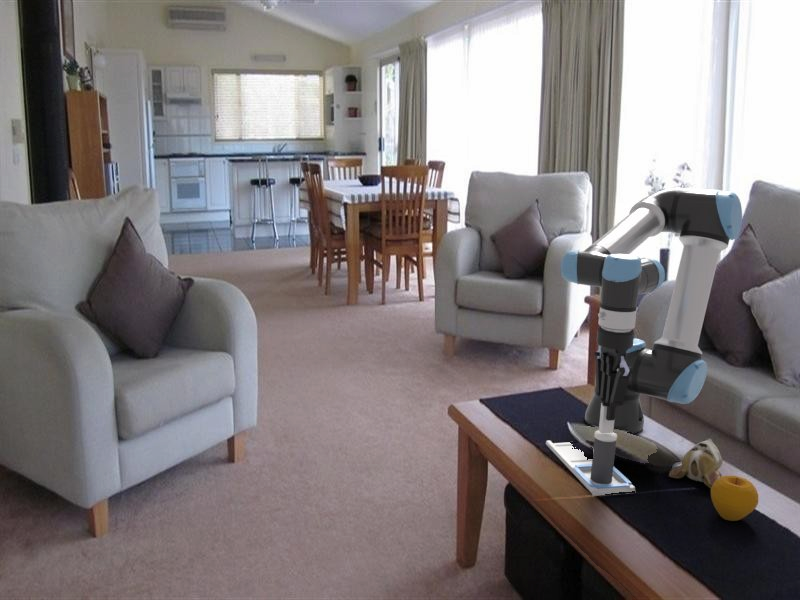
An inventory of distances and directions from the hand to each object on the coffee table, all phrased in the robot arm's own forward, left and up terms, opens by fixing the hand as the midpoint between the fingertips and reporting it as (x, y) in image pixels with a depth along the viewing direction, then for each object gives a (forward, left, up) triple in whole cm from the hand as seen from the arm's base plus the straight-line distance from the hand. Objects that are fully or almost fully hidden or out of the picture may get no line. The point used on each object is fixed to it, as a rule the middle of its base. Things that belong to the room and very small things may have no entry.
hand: (605, 431), depth 161 cm
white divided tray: (0, -7, -12) cm, 14 cm away
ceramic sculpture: (-23, +2, -12) cm, 26 cm away
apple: (-19, +19, -12) cm, 29 cm away
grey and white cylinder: (0, 0, -11) cm, 11 cm away
